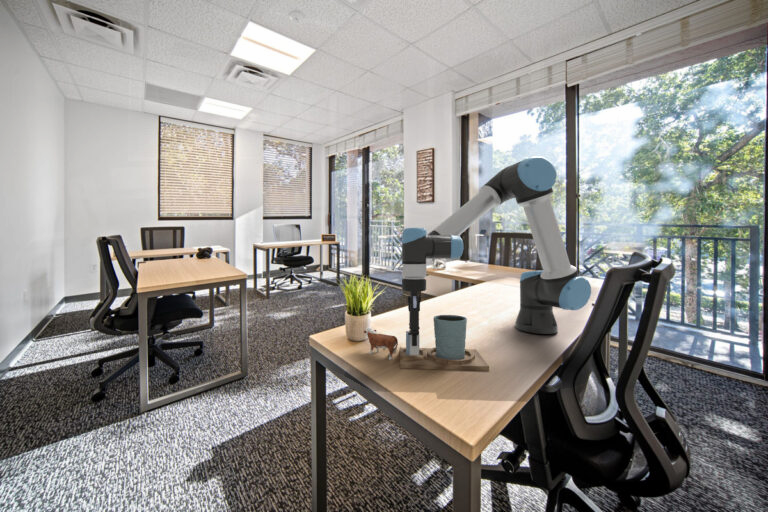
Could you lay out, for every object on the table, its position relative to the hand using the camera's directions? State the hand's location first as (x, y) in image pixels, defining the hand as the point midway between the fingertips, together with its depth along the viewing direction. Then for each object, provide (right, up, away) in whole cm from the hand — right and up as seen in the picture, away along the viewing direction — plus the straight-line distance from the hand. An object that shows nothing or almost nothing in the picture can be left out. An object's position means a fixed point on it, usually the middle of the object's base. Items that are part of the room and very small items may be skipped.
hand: (413, 353), depth 98 cm
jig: (+8, -2, 0) cm, 9 cm away
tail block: (0, -1, 0) cm, 1 cm away
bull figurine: (-11, -2, +4) cm, 11 cm away
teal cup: (+11, -1, -1) cm, 11 cm away
